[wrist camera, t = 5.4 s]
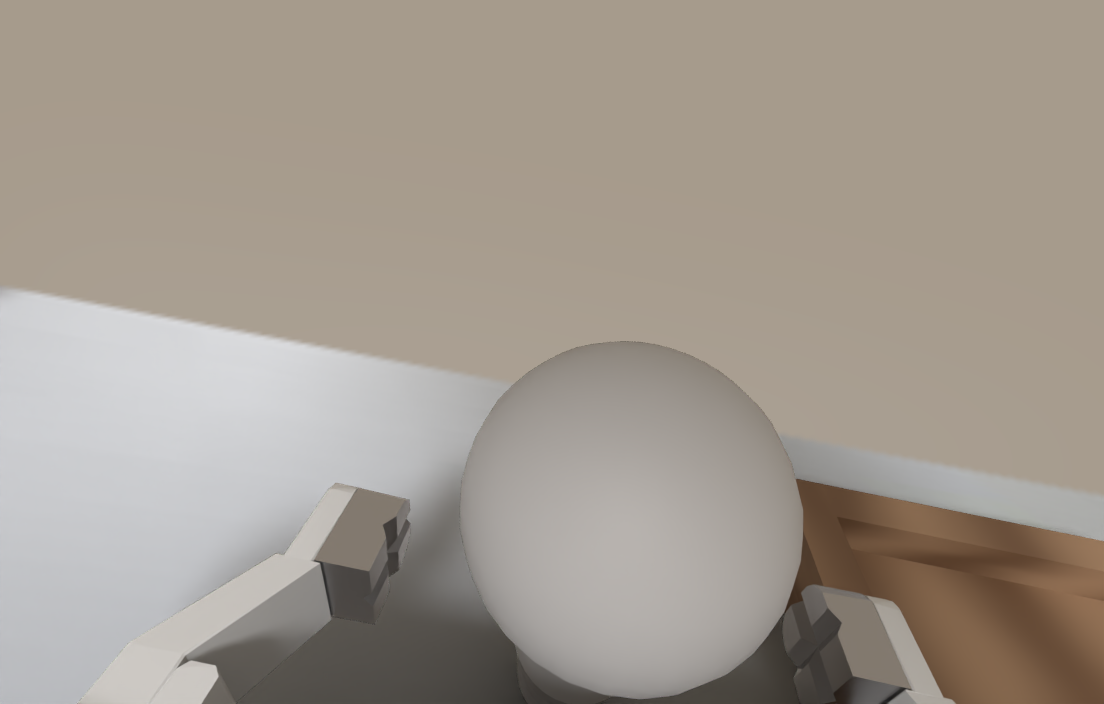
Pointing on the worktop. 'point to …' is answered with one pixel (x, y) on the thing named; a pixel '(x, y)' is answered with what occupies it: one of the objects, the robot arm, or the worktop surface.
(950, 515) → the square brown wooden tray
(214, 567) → the worktop surface
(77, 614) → the worktop surface
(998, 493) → the worktop surface
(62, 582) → the worktop surface
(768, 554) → the lightbulb
